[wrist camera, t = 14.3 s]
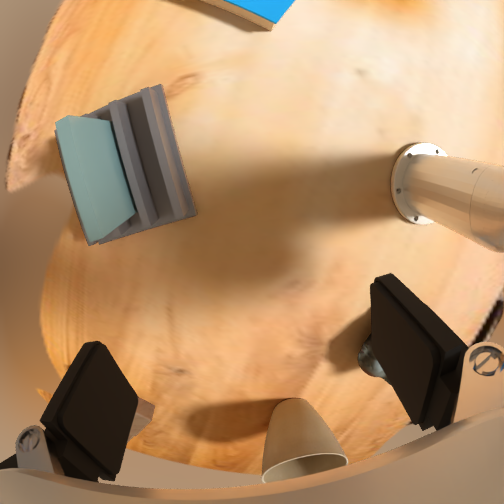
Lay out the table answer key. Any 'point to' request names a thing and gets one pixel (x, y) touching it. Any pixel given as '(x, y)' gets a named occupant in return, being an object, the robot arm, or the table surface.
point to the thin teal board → (96, 174)
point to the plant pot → (299, 443)
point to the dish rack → (146, 162)
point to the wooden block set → (141, 417)
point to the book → (256, 10)
